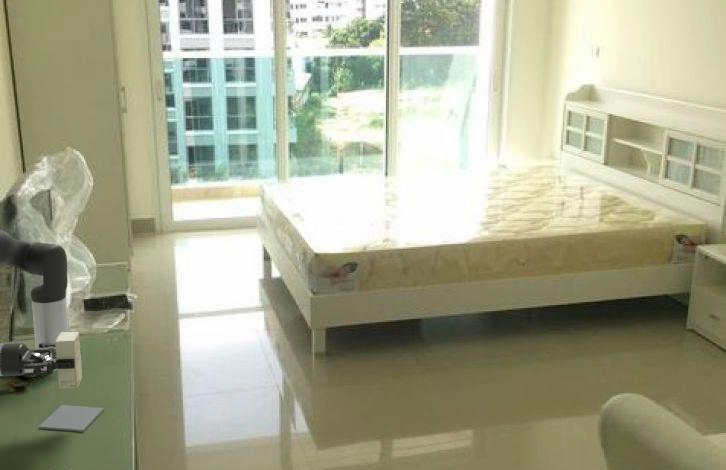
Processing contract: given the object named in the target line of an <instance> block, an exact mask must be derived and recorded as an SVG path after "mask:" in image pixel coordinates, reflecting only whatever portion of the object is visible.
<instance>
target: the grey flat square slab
mask: <svg viewBox="0 0 726 470" xmlns="http://www.w3.org/2000/svg"><path fill="white" fill-rule="evenodd" d="M104 411H105V408H104V407H93V406H92V407H91V406H80V405H67V404H61V405H60V406H59V407H58V408H57V409H56V410H55V411H54V412H53V413H51V414H50V415H49V417H47V418H46V419H45V420H44V421H43V422H42V423H41V424H40V425H39V426H38V429H40V430H42V429H43V430H44V429H45V430H53V431H54V430H55V431H56V430H57V431H67V432H81V433H84V432H85V431H86V430H87V429H88V428H89V427H90V426H91V425H92V424H93V422H94V421H95V420H97V418H98V417H100V416H101V414H102V413H103V412H104Z"/></svg>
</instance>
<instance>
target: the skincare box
mask: <svg viewBox="0 0 726 470" xmlns="http://www.w3.org/2000/svg"><path fill="white" fill-rule="evenodd" d="M80 340H81V339H80V331H70V332H61V333H60V334H59V336H58V337H57V339H56V341H55V345H56V358H57V360H58V359H74V360H75V367H74V368H73V369H58V370H56V371H57V381H58V382H57V383H58V389H59V390H61V389H62V390H63V389H64V390H66V389H67V390H68V389H78V387H79V386H80V384H81V382H82V379H83V369H82V365H83V364H82V351H81V352H80V348H81V341H80Z"/></svg>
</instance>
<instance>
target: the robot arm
mask: <svg viewBox="0 0 726 470" xmlns="http://www.w3.org/2000/svg"><path fill="white" fill-rule="evenodd" d="M1 265H2V266H4V265H6V266H10V267H13V268H15V269H18V270H21V271H23V272H25V273H28V274H31V275H35V276H41V277H42V281H43V282H42V284H40V285H38V286H35V287H34V288H32V289H31V291H30V297H31V298H30V299H31V301H30V302H31V309H32V310H31V311H32V320H33V331H34V333H33V334H34V343H35V345H34V346H35V348H30V349H29V348H28V346H27V345H26V343H23V342H22V343H21V342H17V343H0V377H10V376H11V377H12V376H14V377H15V376H25V377H31V376H45V375H53V373H54V372H56V371H57V370H58V369H73V368H74V367H75V360H74V359H58V360H57V358H56V345H55V341H56V339H57V337H58V336H59V334H60V333H61V332H71V331H70V321H69V320H70V319H69V318H68V317H69V315H68V304H67V290H68V288H67V287H68V281H69V279H68V258H67V252H66V251H65V249H64V247H62V246H61V245H58V244H56V243H55V244H54V243H45V242H39V241H38V242H37V241H35V242H34V241H33V242H32V241H27V240H20V239H16V238H13V237H12V236H11V234H9V232H6V231H5V230H2V229H0V266H1ZM80 352H81V353H82V349H81V347H80Z"/></svg>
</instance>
